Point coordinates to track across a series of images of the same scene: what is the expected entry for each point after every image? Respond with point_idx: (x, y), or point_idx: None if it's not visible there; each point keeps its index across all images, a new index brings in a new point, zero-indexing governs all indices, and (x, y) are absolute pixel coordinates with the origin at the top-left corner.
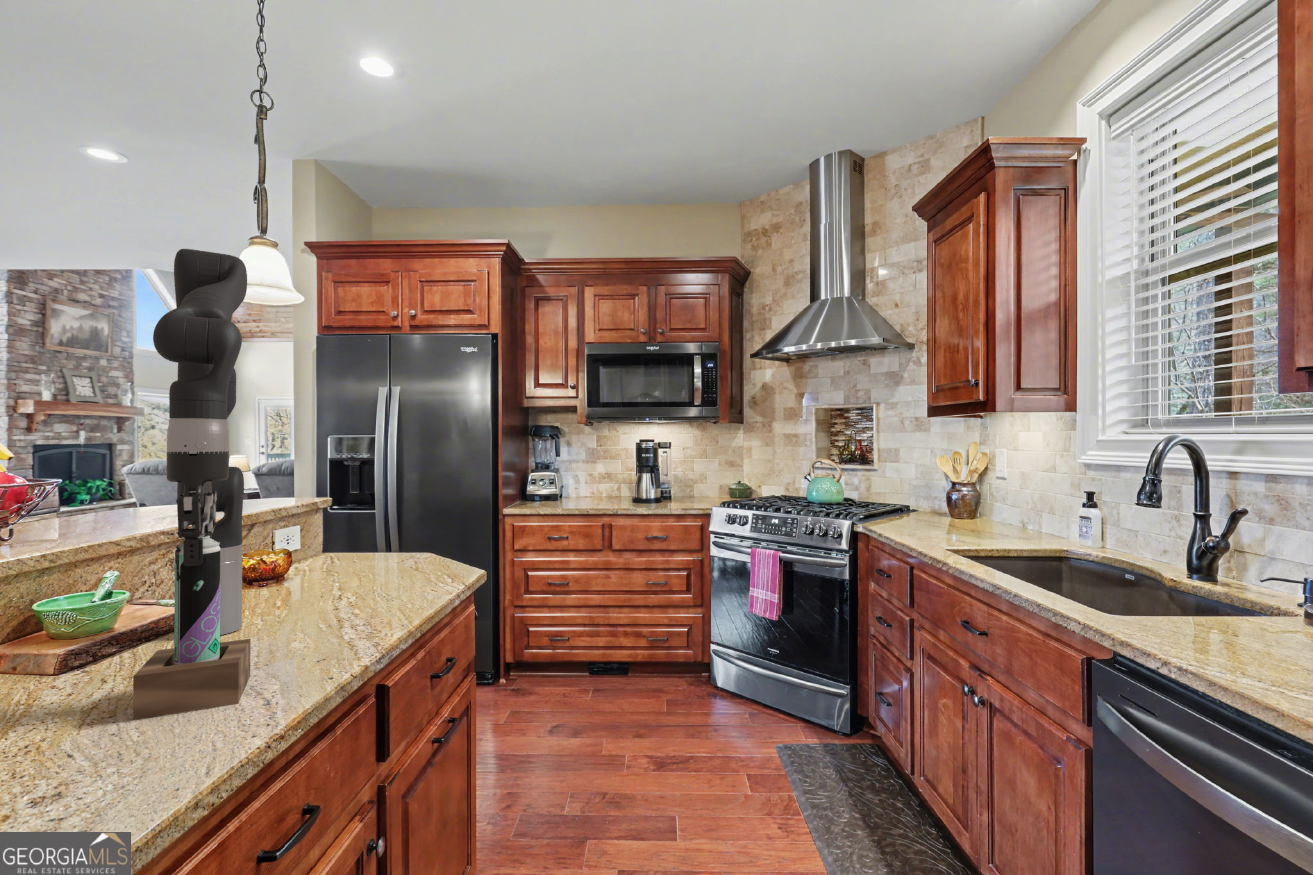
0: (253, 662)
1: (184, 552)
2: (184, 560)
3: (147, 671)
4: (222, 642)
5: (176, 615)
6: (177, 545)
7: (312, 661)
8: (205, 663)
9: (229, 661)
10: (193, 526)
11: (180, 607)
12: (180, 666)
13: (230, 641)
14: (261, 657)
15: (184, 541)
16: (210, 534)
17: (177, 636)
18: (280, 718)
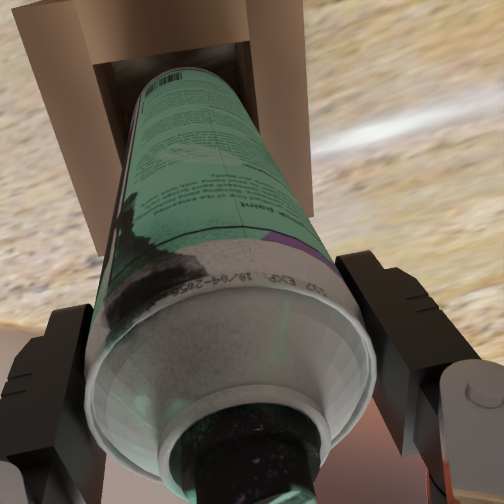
0: (392, 151)
1: (33, 375)
2: (48, 332)
3: (54, 37)
4: (307, 153)
5: (142, 129)
6: (224, 287)
7: None
8: (103, 180)
9: (106, 235)
10: (443, 455)
11: (125, 163)
12: (88, 121)
13: (307, 173)
14: (424, 158)
15: (6, 456)
16: (401, 455)
17: (139, 112)
18: (12, 304)
